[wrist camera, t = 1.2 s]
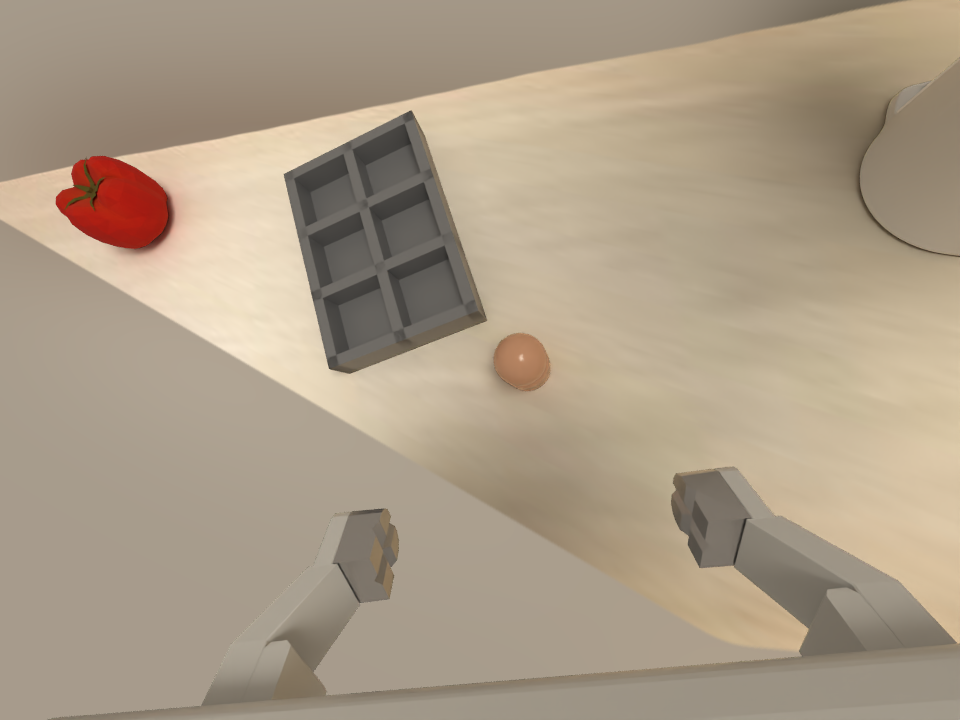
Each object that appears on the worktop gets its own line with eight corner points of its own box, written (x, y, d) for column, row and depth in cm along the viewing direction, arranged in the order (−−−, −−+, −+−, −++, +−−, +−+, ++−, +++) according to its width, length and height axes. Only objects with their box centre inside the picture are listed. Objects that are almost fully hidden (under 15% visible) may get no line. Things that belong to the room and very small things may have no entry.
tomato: (152, 271, 56) (74, 243, 47) (110, 228, 59) (29, 195, 50) (197, 211, 55) (127, 171, 47) (152, 171, 59) (79, 128, 50)
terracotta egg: (541, 338, 41) (533, 319, 34) (557, 381, 40) (553, 372, 33) (498, 354, 42) (481, 339, 34) (513, 397, 41) (498, 391, 33)
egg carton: (424, 135, 49) (411, 110, 45) (487, 320, 43) (478, 310, 39) (305, 192, 51) (283, 174, 48) (349, 373, 46) (329, 369, 42)
